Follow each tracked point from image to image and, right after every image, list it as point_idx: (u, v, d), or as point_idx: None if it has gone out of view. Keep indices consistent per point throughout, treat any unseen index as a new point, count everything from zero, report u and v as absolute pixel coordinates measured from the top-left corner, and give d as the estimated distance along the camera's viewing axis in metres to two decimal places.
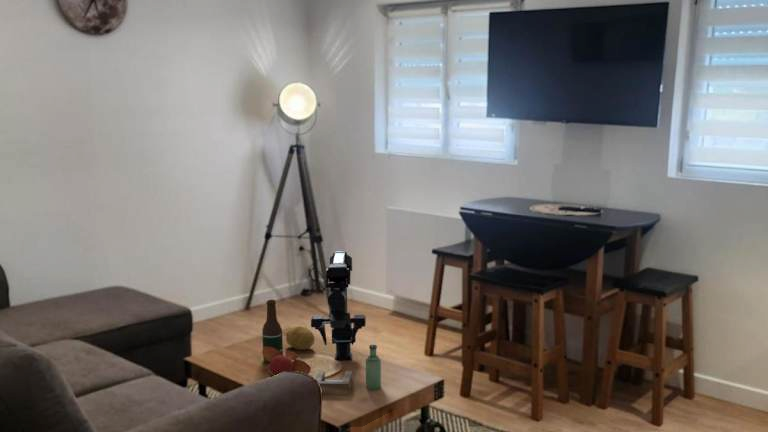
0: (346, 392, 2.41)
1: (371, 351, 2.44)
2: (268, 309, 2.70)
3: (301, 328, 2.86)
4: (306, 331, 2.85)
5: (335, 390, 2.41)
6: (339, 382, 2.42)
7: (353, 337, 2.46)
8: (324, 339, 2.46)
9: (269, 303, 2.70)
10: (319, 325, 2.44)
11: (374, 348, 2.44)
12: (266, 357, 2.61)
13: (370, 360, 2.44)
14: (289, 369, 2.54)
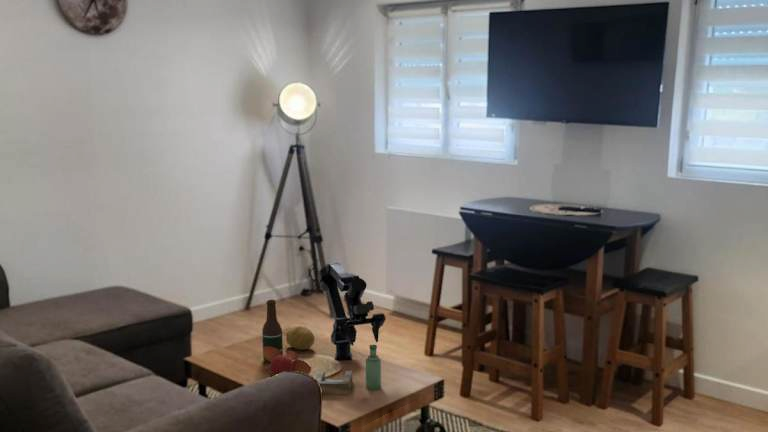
0: (346, 392, 2.41)
1: (371, 351, 2.44)
2: (268, 309, 2.70)
3: (301, 328, 2.86)
4: (306, 331, 2.85)
5: (335, 390, 2.41)
6: (339, 382, 2.42)
7: (377, 333, 2.55)
8: (351, 338, 2.51)
9: (269, 303, 2.70)
10: (344, 321, 2.52)
11: (374, 348, 2.44)
12: (267, 357, 2.61)
13: (370, 360, 2.44)
14: (289, 369, 2.54)
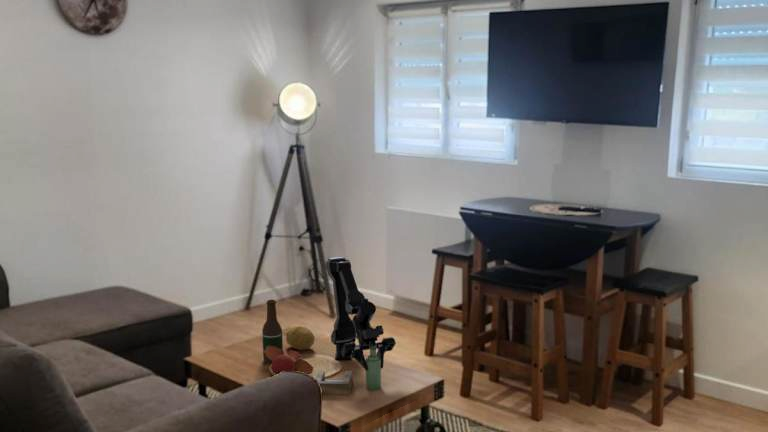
0: (346, 392, 2.41)
1: (371, 351, 2.44)
2: (268, 309, 2.70)
3: (301, 328, 2.86)
4: (306, 331, 2.84)
5: (335, 390, 2.41)
6: (339, 382, 2.42)
7: (382, 358, 2.47)
8: (365, 363, 2.44)
9: (269, 303, 2.70)
10: (353, 346, 2.45)
11: (374, 348, 2.44)
12: (269, 356, 2.62)
13: (370, 360, 2.44)
14: (291, 369, 2.55)
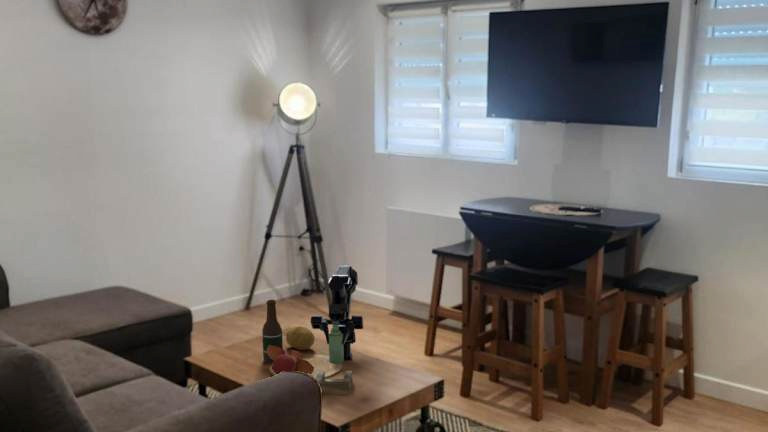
0: (346, 392, 2.41)
1: (333, 326, 2.53)
2: (268, 309, 2.70)
3: (301, 328, 2.86)
4: (306, 331, 2.85)
5: (335, 390, 2.41)
6: (339, 382, 2.42)
7: (345, 335, 2.54)
8: (327, 336, 2.54)
9: (269, 303, 2.70)
10: (318, 319, 2.56)
11: (335, 323, 2.52)
12: (270, 356, 2.62)
13: (331, 334, 2.53)
14: (292, 368, 2.55)
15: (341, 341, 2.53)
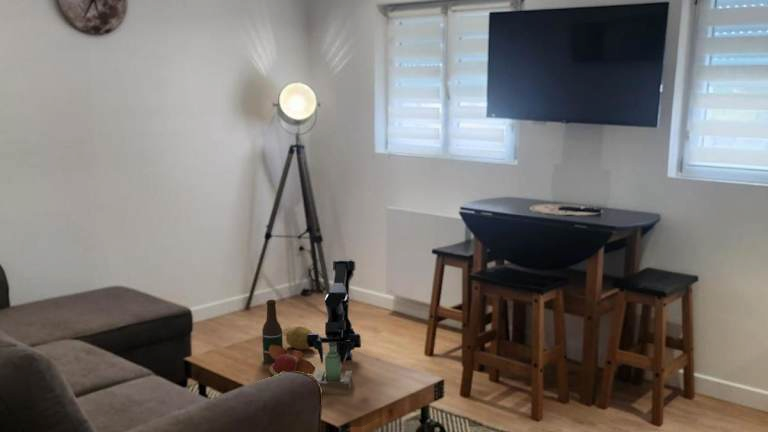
0: (346, 392, 2.41)
1: (329, 347, 2.45)
2: (268, 309, 2.70)
3: (301, 328, 2.86)
4: (306, 331, 2.84)
5: (335, 390, 2.41)
6: (339, 382, 2.42)
7: (344, 353, 2.45)
8: (321, 355, 2.45)
9: (269, 303, 2.70)
10: (314, 337, 2.47)
11: (332, 345, 2.44)
12: (272, 355, 2.63)
13: (328, 356, 2.45)
14: (293, 368, 2.55)
15: (338, 363, 2.44)
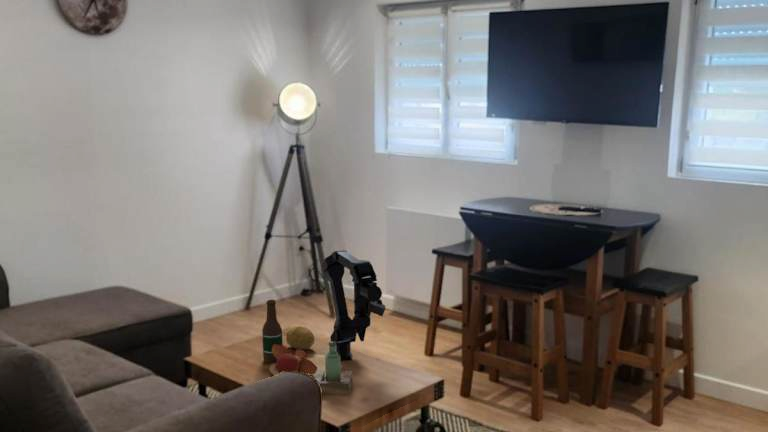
0: (346, 392, 2.41)
1: (329, 347, 2.45)
2: (268, 309, 2.70)
3: (301, 328, 2.86)
4: (306, 331, 2.85)
5: (335, 390, 2.41)
6: (339, 382, 2.42)
7: None
8: (364, 335, 2.56)
9: (269, 303, 2.70)
10: None
11: (332, 345, 2.44)
12: (275, 355, 2.64)
13: (328, 356, 2.45)
14: (294, 368, 2.55)
15: (338, 363, 2.45)
